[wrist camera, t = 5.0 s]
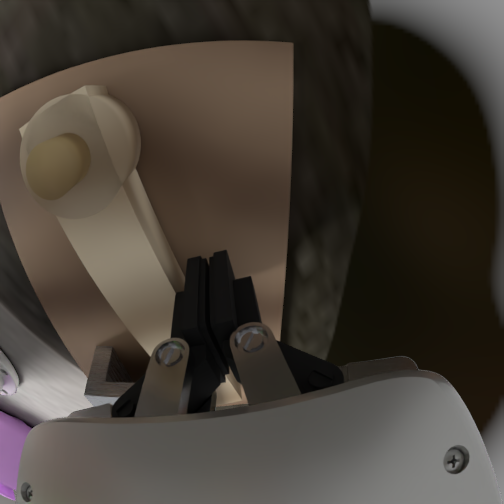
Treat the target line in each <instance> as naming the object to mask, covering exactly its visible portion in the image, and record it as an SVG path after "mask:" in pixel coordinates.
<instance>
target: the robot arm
mask: <svg viewBox="0 0 504 504" xmlns="http://www.w3.org/2000/svg"><path fill="white" fill-rule="evenodd" d="M229 367H230V369H231V371H232V373H233V375H234V377H235V379H236V381H237V382H238V383H240V384H242V386H243V389H244V392H245V395H246V398H247V402H248V405H249V406H244V407H238V408H232V409H225V410H219V411H215V409H216V400H217V392H216V389H217V388H218V387H219V386H220V385H221V383H225V382H226V377H225V375H227V374H229V373H230V371H229ZM18 385H19V379H18V375H17V373H16V371H15V369H14V367H13V366H12V364H11V363H10V361H9V360H8V358H7V357H6V356H5V355H4V353H3V352H2V351H1V350H0V394H2V395H13V394H15V393H16V391H17V388H18ZM16 504H503V501H502V497H501V493H500V489H499V486H498V482H497V479H496V475H495V472H494V469H493V466H492V464H491V461H490V458H489V456H488V453H487V450H486V448H485V445H484V443H483V440H482V438H481V436H480V433H479V431H478V429H477V427H476V425H475V423H474V421H473V419H472V417H471V415H470V413H469V411H468V409H467V407H466V406H465V404H464V402H463V401H462V399H461V397H460V396H459V395H458V393H457V392H456V390H455V389H454V388H453V386H452V385H451V384H450V383H449V382H448V381H447V380H446V379H445V378H444V377H442V376H441V375H439V374H437V373H434V372H430V371H423V370H418V368H417V366H416V363H415V362H413V360H411V359H410V358H407V357H401V356H399V357H392V358H385V359H378V360H372V361H363V362H355V363H348V364H347V366H341V367H337V366H336V365H334V364H332V363H330V362H327V361H325V360H322V359H320V358H317V357H315V356H312V355H310V354H308V353H305V352H303V351H300V350H298V349H296V348H293V347H291V346H289V345H286V344H284V343H282V342H280V341H277V340H276V339H275V337H274V334H273V332H272V331H271V329H270V328H269V327H268V326H267V325H265V324H262V321H261V316H260V311H259V306H258V302H257V298H256V293H255V289H254V285H253V281H252V278H251V276H248V277H244V278H239V279H235V276H234V273H233V269H232V266H231V262H230V259H229V256H228V252H227V250H222V251H218V252H214V253H213V256H212V257H209V264H208V261H207V259H206V258H204V259H202V257H201V256H197V257H193V258H189V259H187V267H186V276H185V285H184V291H181V292H177V293H176V295H175V302H174V310H173V318H172V328H171V337H170V338H169V339H166V340H164V341H162V342H161V343H159V344H158V345H157V346H156V347H155V348H154V350H153V352H152V355H151V358H150V361H149V365H148V368H147V372H146V373H145V374H144V375H143V376H142V377H141V378H140V379H139V380H138V381H137V382H136V383H135V384H134V385H132V386H131V387H130V388H129V389H128V390H127V391H126V392H125V393H124V394H123V395H122V396H120V397H119V398H118V399H117V401H116V402H115V403H114V405H112V404H111V403H107V404H104V405H100V406H96V407H91V408H87V409H83V410H79V411H75V412H73V413H71V414H70V415H69V416H68V417H64V418H57V419H52V420H48V421H45V422H43V423H40V424H38V425H36V426H35V427H33V428H32V429H31V430H30V432H29V433H28V435H27V437H26V440H25V443H24V446H23V450H22V454H21V458H20V464H19V470H18V477H17V487H16Z"/></svg>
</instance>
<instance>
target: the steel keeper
mask: <svg viewBox="0 0 504 504" xmlns="http://www.w3.org/2000/svg"><path fill="white" fill-rule="evenodd" d="M134 384H135V383H133V381H132V380H131V378H130V376H129V374H128V373H127V371H126V369H125V368H124V366H123V364H122V362H121V360H120V359H119V357H118V355H117V353H116V351H115V349H114V348H113V346H96V349H95V352H94V356H93V360H92V364H91V368H90V372H89V376H88V380H87V384H86V389H85V393H84V395H85V397H86V398H87V399H88V400H89V401H90V402H91V404H92V405H93V406H94V407H96V406H100V405H104V404H107V403H111V404H112V405H114V403H115V402H116V401H117V399H118V398H119V397H120V396H122V395H123V394H124V393H125V392H126V391H127V390H128V389H129V388H130V387H131V386H132V385H134Z"/></svg>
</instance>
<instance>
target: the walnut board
mask: <svg viewBox="0 0 504 504" xmlns="http://www.w3.org/2000/svg"><path fill="white" fill-rule="evenodd" d="M85 85H106V88H107V91H108V94H109V95H112V96H114V97H116V98H118V99H119V100H121V101H122V102H123V103H124V104H125V105H126V106H127V107H128V108H129V109H130V110H131V112H132V113H133V115H134V117H135V119H136V121H137V123H138V126H139V130H140V136H141V151H140V157H139V161H138V163H137V166H136V170H137V173H138V175H139V177H140V180H141V182H142V185H143V187H144V189H145V192H146V194H147V197H148V199H149V201H150V203H151V206H152V208H153V210H154V213H155V215H156V217H157V219H158V222H159V224H160V226H161V228H162V230H163V233H164V235H165V237H166V239H167V241H168V243H169V245H170V248H171V250H172V252H173V254H174V256H175V258H176V260H177V262H178V264H179V266H180V268H181V270H182V272H183V274H184V276H186V267H187V259H189V258H193V257H197V256H201V257H202V259H204V258H206V259H207V261H208V264H209V257H212V256H213V253H214V252H218V251H222V250H227V252H228V256H229V259H230V262H231V266H232V269H233V273H234V276H235V279H239V278H244V277H248V276H251V278H252V281H253V285H254V289H255V293H256V298H257V302H258V306H259V311H260V316H261V321H262V324H265V325H267V326H268V327H269V328H270V329H271V331H272V332H273V334H274V337H275V339H276V340H277V341H280V334H281V323H282V311H283V299H284V287H285V273H286V259H287V244H288V227H289V209H290V188H291V164H292V131H293V43H289V42H275V41H210V42H196V43H185V44H176V45H168V46H161V47H155V48H148V49H143V50H137V51H132V52H127V53H123V54H118V55H114V56H110V57H106V58H102V59H98V60H95V61H91V62H88V63H85V64H81V65H78V66H75V67H72V68H69V69H66V70H63V71H60V72H58V73H55V74H52V75H50V76H47V77H44V78H42V79H39V80H37V81H35V82H32V83H30V84H28V85H26V86H23V87H21V88H19V89H17V90H15V91H13V92H11V93H9V94H7V95H5V96H3V97H1V98H0V203H1V206H2V210H3V213H4V216H5V219H6V222H7V225H8V228H9V231H10V234H11V237H12V239H13V242H14V245H15V247H16V250H17V252H18V255H19V257H20V260H21V262H22V265H23V267H24V269H25V271H26V274H27V276H28V278H29V280H30V282H31V284H32V287H33V289H34V291H35V293H36V295H37V297H38V299H39V301H40V303H41V304H42V306H43V308H44V310H45V312H46V314H47V316H48V317H49V319H50V321H51V323H52V324H53V326H54V328H55V330H56V331H57V333H58V335H59V336H60V338H61V339H62V341H63V343H64V344H65V346H66V347H67V349H68V350H69V352H70V353H71V355H72V357H73V358H74V359H75V361H76V362H77V364H78V365H79V367H80V368H81V370H82V371H83V372H84V374H85V375H86V376H87V378H88V376H89V372H90V368H91V364H92V360H93V356H94V352H95V349H96V346H113V348H114V349H115V351H116V353H117V355H118V357H119V359H120V360H121V362H122V364H123V366H124V368H125V369H126V371H127V373H128V374H129V376H130V378H131V380H132V381H133V383H136V382H137V381H138V380H139V379H140V378H141V377H142V376H143V375H144V374H145V373H146V372H147V368H148V365H149V361H150V358H151V357H150V356H149V355H148V353H147V352H146V351H145V350H144V348H143V347H142V346H141V345H140V344H139V342H138V341H137V340H136V339H135V337H134V336H133V335H132V333H131V332H130V331H129V330H128V328H127V327H126V326H125V324H124V323H123V322H122V320H121V319H120V318H119V316H118V315H117V314H116V312H115V311H114V309H113V308H112V307H111V305H110V304H109V302H108V301H107V300H106V298H105V297H104V295H103V294H102V292H101V291H100V289H99V288H98V286H97V285H96V283H95V282H94V280H93V279H92V277H91V276H90V274H89V272H88V271H87V269H86V268H85V266H84V264H83V263H82V261H81V260H80V258H79V256H78V255H77V253H76V251H75V250H74V248H73V246H72V244H71V243H70V241H69V239H68V237H67V235H66V234H65V232H64V230H63V228H62V226H61V224H60V223H59V221H58V219H57V217H56V215H53V214H52V213H50V212H48V211H46V210H45V209H44V208H42V207H41V206H40V205H39V204H38V203H37V202H36V201H35V200H34V198H33V197H32V196H31V194H30V193H29V191H28V189H27V187H26V185H25V182H24V180H23V176H22V173H21V167H20V147H21V142H22V136H21V133H20V130H19V129H20V128H21V127H22V126H24V125H25V124H26V123H28V122H29V121H30V120H31V118H32V117H33V116H34V114H35V113H36V112H37V111H38V110H39V109H40V108H41V107H42V106H43V105H45V104H46V103H47V102H49V101H51V100H52V99H54V98H57V97H59V96H63V95H67V94H71V93H73V92H74V91H76V90H78V89H80V88H81V87H83V86H85ZM240 388H241V394H242V401H237V402H233V403H228V404H223V405H218V406H227V405H237V404H246V403H248V402H247V398H246V395H245V392H244V389H243V386H242V384H240Z"/></svg>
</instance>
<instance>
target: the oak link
mask: <svg viewBox="0 0 504 504" xmlns="http://www.w3.org/2000/svg"><path fill="white" fill-rule="evenodd" d="M19 130H20V133H21V136H22V142H21V147H20V167H21V173H22V176H23V180H24V182H25V185H26V187H27V189H28V191H29V193H30V194H31V196H32V197H33V198H34V200H35V201H36V202H37V203H38V204H39V205H40V206H41V207H42V208H44V209H45V210H46V211H48V212H50V213H52V214H53V215H56V217H57V219H58V221H59V223H60V224H61V226H62V228H63V230H64V232H65V234H66V235H67V237H68V239H69V241H70V243H71V244H72V246H73V248H74V250H75V251H76V253H77V255H78V256H79V258H80V260H81V261H82V263H83V264H84V266H85V268H86V269H87V271H88V272H89V274H90V276H91V277H92V279H93V280H94V282H95V283H96V285H97V286H98V288H99V289H100V291H101V292H102V294H103V295H104V297H105V298H106V300H107V301H108V302H109V304H110V305H111V307H112V308H113V309H114V311H115V312H116V314H117V315H118V316H119V318H120V319H121V320H122V322H123V323H124V324H125V326H126V327H127V328H128V330H129V331H130V332H131V333H132V335H133V336H134V337H135V339H136V340H137V341H138V342H139V344H140V345H141V346H142V347H143V348H144V350H145V351H146V352H147V353H148V355H149V356H150V357H151V355H152V352H153V350H154V348H155V347H156V346H157V345H158V344H159V343H161V342H162V341H164V340H166V339H169V338H170V337H171V328H172V318H173V310H174V302H175V295H176V293H177V292H181V291H184V285H185V276H184V274H183V272H182V270H181V268H180V266H179V264H178V262H177V260H176V258H175V256H174V254H173V252H172V250H171V248H170V245H169V243H168V241H167V239H166V237H165V235H164V233H163V230H162V228H161V226H160V224H159V222H158V219H157V217H156V215H155V213H154V210H153V208H152V206H151V203H150V201H149V199H148V197H147V194H146V192H145V189H144V187H143V185H142V182H141V180H140V177H139V175H138V173H137V170H136V166H137V163H138V161H139V157H140V151H141V136H140V130H139V126H138V123H137V121H136V119H135V117H134V115H133V113H132V112H131V110H130V109H129V108H128V107H127V106H126V105H125V104H124V103H123V102H122V101H121V100H119V99H118V98H116V97H114V96H112V95H109V94H108V91H107V88H106V85H85V86H83V87H81V88H80V89H78V90H76V91H74V92H73V93H71V94H67V95H63V96H59V97H57V98H54V99H52V100H51V101H49V102H47V103H46V104H45V105H43V106H42V107H41V108H40V109H39V110H38V111H37V112H36V113H35V114H34V116H33V117H32V118H31V120H30V121H29V122H28V123H26V124H25V125H24V126H22V127H21V128H20V129H19ZM229 371H230V373H229V374H227V375H225V377H226V382H225V383H221V385H220V386H219V387H218V388H217V389H216V392H217V400H216V406H218V405H223V404H228V403H233V402H237V401H242V394H241V388H240V383H238V382H237V381H236V379H235V377H234V375H233V373H232V371H231V369H230V367H229Z"/></svg>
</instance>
